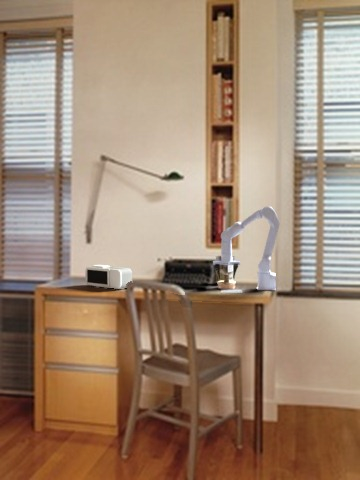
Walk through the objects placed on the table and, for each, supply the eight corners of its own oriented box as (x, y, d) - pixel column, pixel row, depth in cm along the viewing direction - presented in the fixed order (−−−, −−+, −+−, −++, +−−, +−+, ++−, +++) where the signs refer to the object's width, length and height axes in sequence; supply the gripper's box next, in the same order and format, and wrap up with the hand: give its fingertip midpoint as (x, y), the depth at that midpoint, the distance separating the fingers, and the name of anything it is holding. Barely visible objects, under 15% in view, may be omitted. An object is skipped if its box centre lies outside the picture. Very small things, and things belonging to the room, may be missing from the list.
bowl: (234, 287, 293) (234, 281, 293) (235, 289, 284) (235, 284, 284) (217, 287, 293) (217, 281, 293) (218, 289, 284) (218, 284, 284)
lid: (235, 281, 293) (235, 273, 293) (236, 284, 283) (236, 275, 283) (216, 281, 293) (216, 273, 293) (217, 284, 283) (217, 275, 283)
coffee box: (234, 284, 307) (234, 255, 306) (227, 285, 302) (227, 256, 301) (222, 282, 313) (222, 255, 312) (215, 283, 308) (215, 255, 307)
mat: (241, 290, 282) (241, 289, 282) (242, 293, 271) (242, 292, 271) (220, 290, 282) (220, 289, 282) (221, 293, 271) (221, 292, 271)
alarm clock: (85, 286, 299) (85, 265, 298) (97, 284, 306) (97, 264, 306) (120, 291, 282) (120, 268, 281) (132, 288, 289) (132, 267, 289)
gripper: (239, 252, 291) (239, 277, 292) (212, 252, 292) (212, 277, 292) (240, 253, 284) (240, 278, 285) (213, 253, 285) (213, 278, 285)
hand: (226, 278), depth 288 cm, fingers open, 7 cm apart
